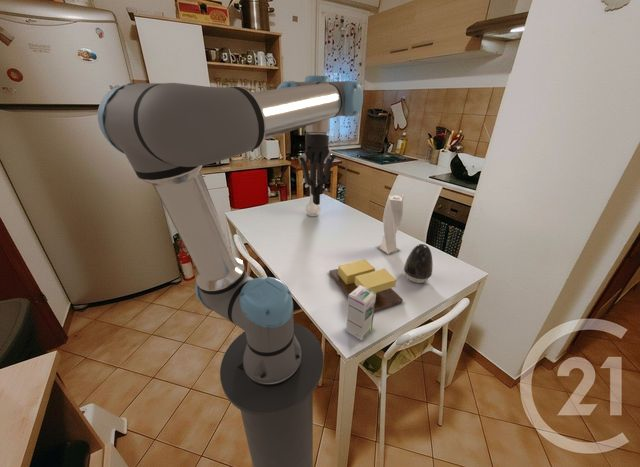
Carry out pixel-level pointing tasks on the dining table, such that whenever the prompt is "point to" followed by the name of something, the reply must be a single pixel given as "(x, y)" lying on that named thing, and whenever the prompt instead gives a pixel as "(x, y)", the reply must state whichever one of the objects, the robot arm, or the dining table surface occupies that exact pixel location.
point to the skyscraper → (391, 223)
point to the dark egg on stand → (419, 264)
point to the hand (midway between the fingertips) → (316, 203)
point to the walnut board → (382, 297)
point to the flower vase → (311, 202)
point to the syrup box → (360, 312)
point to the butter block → (354, 270)
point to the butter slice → (376, 280)
